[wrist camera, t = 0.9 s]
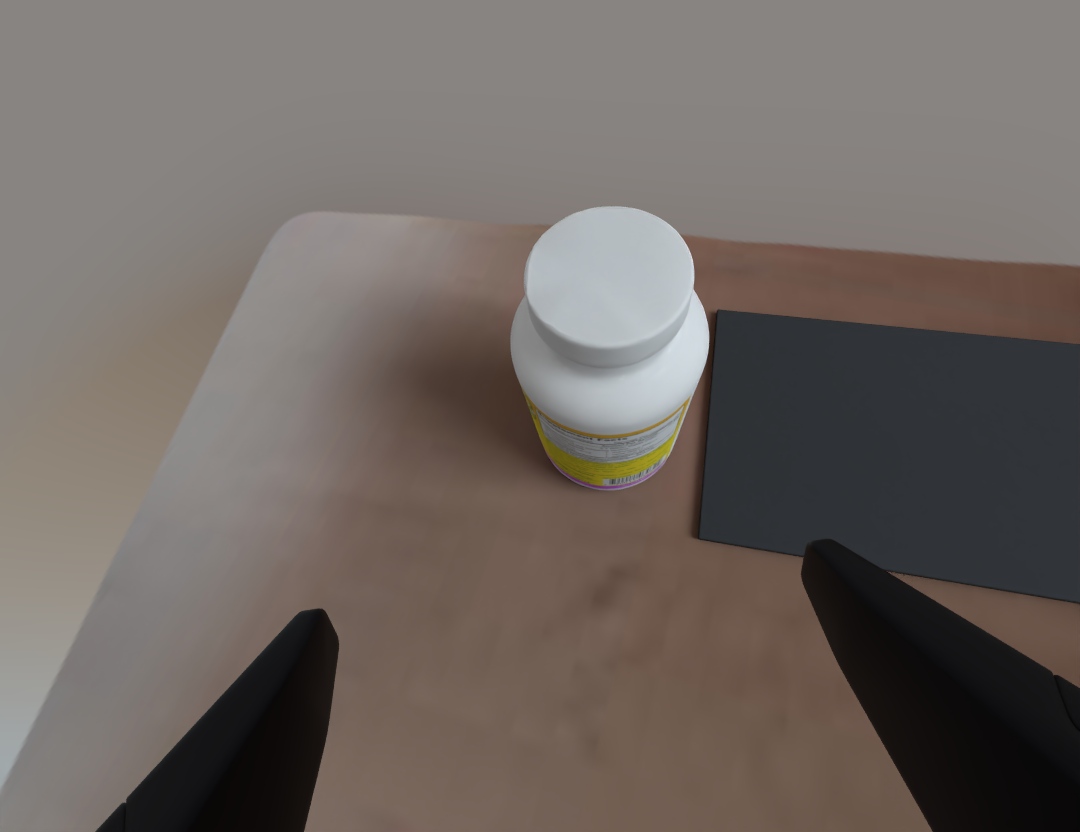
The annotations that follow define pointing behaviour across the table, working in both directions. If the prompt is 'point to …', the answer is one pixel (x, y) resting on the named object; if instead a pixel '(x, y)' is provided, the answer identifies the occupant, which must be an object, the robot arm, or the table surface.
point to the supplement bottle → (609, 344)
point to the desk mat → (897, 449)
